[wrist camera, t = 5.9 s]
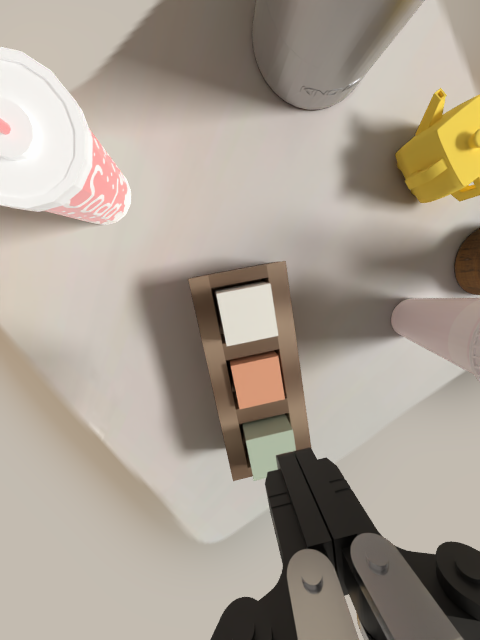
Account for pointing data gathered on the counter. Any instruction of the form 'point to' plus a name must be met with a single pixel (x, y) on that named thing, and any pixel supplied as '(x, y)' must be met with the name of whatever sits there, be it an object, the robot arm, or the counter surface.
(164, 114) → the counter surface
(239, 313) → the offwhite key
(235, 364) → the terracotta key
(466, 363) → the smoothie
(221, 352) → the key panel
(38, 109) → the beverage cup
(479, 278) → the mortar and pestle
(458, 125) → the teapot
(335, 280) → the counter surface
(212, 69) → the counter surface
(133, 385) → the counter surface
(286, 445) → the sage key
